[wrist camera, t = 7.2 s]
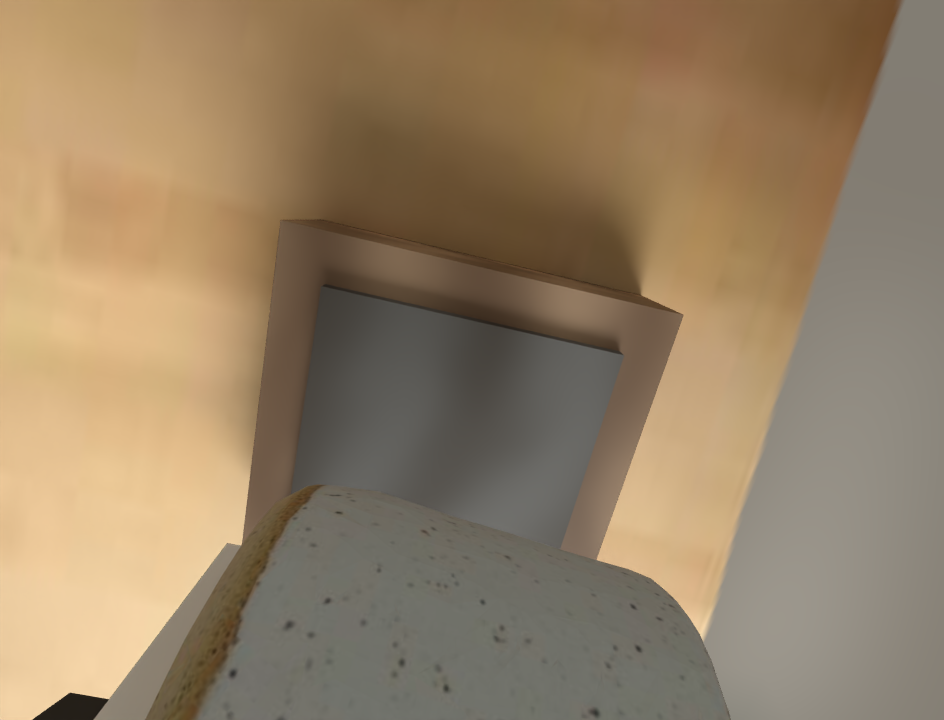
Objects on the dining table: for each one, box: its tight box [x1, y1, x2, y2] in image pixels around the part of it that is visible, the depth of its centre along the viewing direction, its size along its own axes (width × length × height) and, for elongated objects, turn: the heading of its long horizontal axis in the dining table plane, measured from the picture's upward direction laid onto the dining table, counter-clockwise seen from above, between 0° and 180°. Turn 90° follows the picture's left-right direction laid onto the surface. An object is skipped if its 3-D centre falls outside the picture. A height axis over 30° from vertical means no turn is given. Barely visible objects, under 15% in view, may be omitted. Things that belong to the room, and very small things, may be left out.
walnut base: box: [242, 220, 683, 560], centre depth 23 cm, size 16×16×6 cm
